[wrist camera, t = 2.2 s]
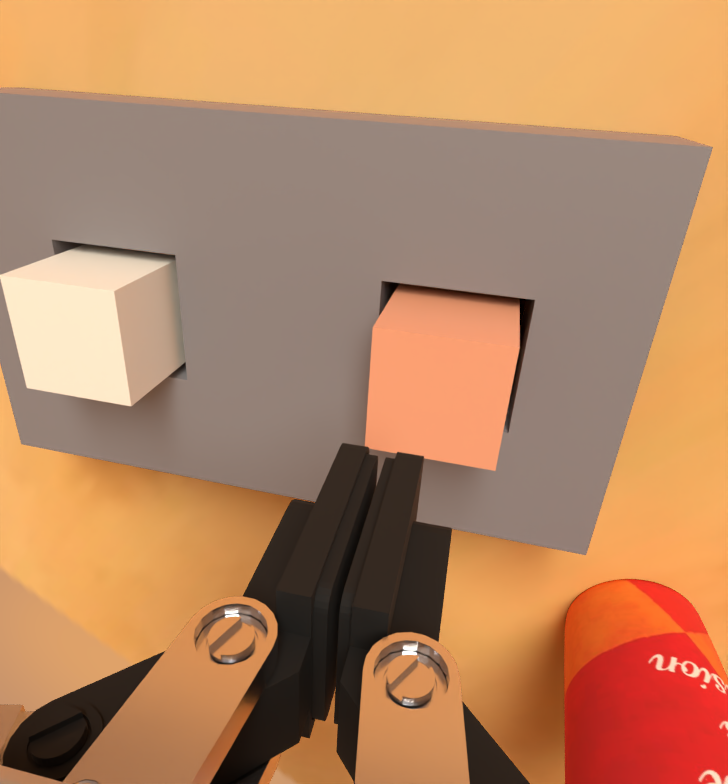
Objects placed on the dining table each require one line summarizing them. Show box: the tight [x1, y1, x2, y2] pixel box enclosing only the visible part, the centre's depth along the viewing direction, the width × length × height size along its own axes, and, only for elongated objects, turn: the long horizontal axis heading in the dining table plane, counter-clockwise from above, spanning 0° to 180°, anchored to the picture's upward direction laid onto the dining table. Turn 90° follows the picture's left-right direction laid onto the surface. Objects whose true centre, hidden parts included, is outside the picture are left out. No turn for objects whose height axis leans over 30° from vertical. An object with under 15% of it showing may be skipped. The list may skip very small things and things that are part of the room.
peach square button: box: [365, 284, 520, 471], centre depth 19 cm, size 4×4×4 cm
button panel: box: [0, 88, 713, 555], centre depth 22 cm, size 14×24×4 cm, turn 87°
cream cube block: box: [0, 244, 186, 406], centre depth 21 cm, size 4×4×4 cm
